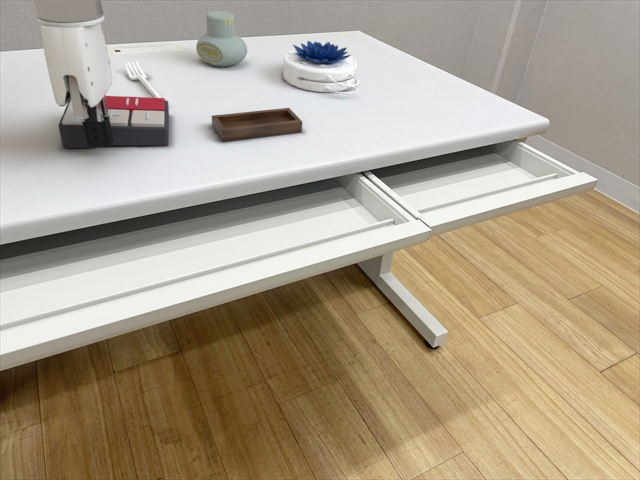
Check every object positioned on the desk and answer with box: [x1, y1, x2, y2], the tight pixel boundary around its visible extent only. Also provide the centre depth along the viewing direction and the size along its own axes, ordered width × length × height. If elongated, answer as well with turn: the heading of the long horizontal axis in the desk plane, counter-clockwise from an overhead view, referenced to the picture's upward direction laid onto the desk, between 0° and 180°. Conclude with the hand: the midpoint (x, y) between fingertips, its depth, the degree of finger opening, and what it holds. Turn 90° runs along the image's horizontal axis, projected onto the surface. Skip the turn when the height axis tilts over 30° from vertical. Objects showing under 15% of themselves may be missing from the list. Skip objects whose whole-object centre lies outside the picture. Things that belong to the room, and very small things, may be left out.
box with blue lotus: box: [282, 40, 360, 95], centre depth 99 cm, size 7×16×20 cm
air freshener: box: [195, 10, 248, 68], centre depth 102 cm, size 11×8×10 cm
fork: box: [124, 60, 163, 98], centre depth 90 cm, size 3×20×2 cm, turn 33°
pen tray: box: [211, 107, 303, 143], centre depth 80 cm, size 14×6×2 cm, turn 115°
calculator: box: [58, 95, 170, 149], centre depth 75 cm, size 11×4×15 cm
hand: (101, 143), depth 69 cm, fingers closed
